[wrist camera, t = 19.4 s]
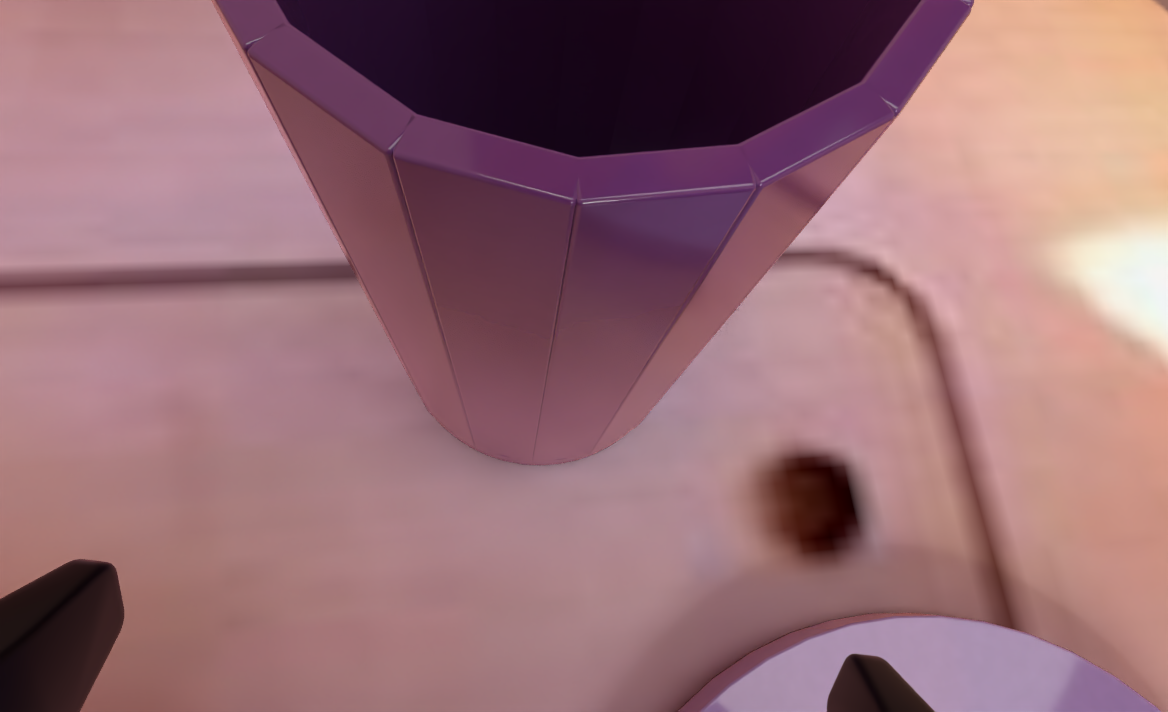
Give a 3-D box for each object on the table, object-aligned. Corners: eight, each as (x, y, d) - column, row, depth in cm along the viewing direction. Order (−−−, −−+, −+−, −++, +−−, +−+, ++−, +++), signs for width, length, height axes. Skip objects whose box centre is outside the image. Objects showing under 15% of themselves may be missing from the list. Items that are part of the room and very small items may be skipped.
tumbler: (488, 518, 17) (421, 365, 5) (357, 284, 18) (35, -318, 6) (720, 380, 19) (1140, -14, 6) (584, 174, 20) (701, -488, 8)
